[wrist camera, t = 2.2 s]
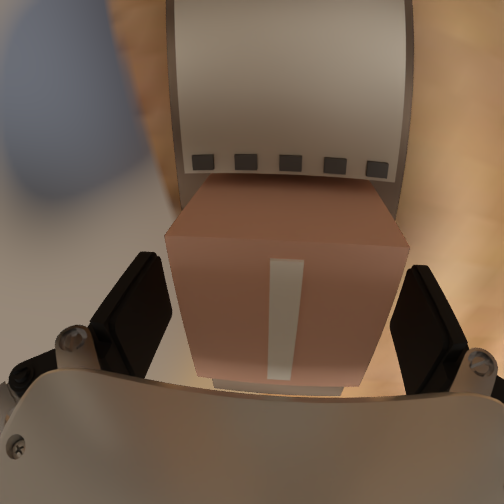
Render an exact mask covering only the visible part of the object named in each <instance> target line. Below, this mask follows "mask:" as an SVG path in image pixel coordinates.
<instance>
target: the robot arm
mask: <svg viewBox="0 0 504 504" xmlns="http://www.w3.org/2000/svg"><path fill="white" fill-rule="evenodd" d="M171 317H172V307H171V303H170V299H169V294H168V290H167V285H166V281H165V276H164V272H163V267H162V262H161V258H160V257H159V256H157V255H156V253H155V252H140V253H139V254H138V255H137V257H136V258H135V259H134V260H133V262H132V263H131V264H130V266H129V267H128V268H127V270H126V271H125V272H124V274H123V275H122V276H121V278H120V279H119V280H118V282H117V283H116V285H115V286H114V287H113V289H112V290H111V291H110V293H109V294H108V295H107V297H106V298H105V300H104V301H103V302H102V304H101V305H100V307H99V308H98V310H97V311H96V312H95V314H94V315H93V317H92V318H91V320H90V324H89V326H88V327H86V326H83V325H73V326H70V327H68V328H66V329H64V330H63V331H62V332H60V334H59V335H58V336H57V338H56V340H55V349H52V350H50V351H48V352H45V353H43V354H41V355H39V356H36V357H33V358H31V359H29V360H26V361H24V362H22V363H20V364H18V365H17V366H15V367H14V368H13V370H12V371H11V373H10V376H9V383H7V384H6V382H5V381H4V382H3V383H1V384H0V504H504V379H502V378H501V377H499V376H498V375H497V371H498V366H497V362H496V360H495V358H494V357H493V356H492V355H491V354H490V353H489V352H488V351H486V350H484V349H482V348H471V349H470V350H469V347H468V345H467V343H468V342H467V340H466V337H465V335H464V333H463V331H462V329H461V327H460V325H459V323H458V321H457V319H456V317H455V315H454V313H453V311H452V309H451V307H450V305H449V303H448V301H447V299H446V297H445V295H444V293H443V292H442V290H441V288H440V286H439V284H438V282H437V281H436V279H435V277H434V275H433V274H432V272H431V270H430V268H429V267H428V266H426V265H413V266H412V268H411V269H408V270H407V273H406V276H405V280H404V283H403V286H402V289H401V292H400V295H399V298H398V301H397V304H396V307H395V310H394V313H393V315H392V318H391V321H390V331H391V335H392V338H393V342H394V346H395V350H396V353H397V357H398V361H399V365H400V369H401V373H402V378H403V382H404V386H405V391H406V395H401V396H384V397H361V398H308V397H284V396H268V395H255V394H244V393H234V392H225V391H217V390H209V389H202V388H195V387H188V386H182V385H176V384H170V383H165V382H159V381H154V380H148V379H144V378H145V376H146V373H147V371H148V369H149V366H150V364H151V362H152V359H153V357H154V355H155V353H156V350H157V348H158V346H159V344H160V341H161V339H162V337H163V335H164V333H165V330H166V328H167V326H168V323H169V321H170V319H171Z"/></svg>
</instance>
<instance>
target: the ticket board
mask: <svg viewBox="0 0 504 504" xmlns="http://www.w3.org/2000/svg"><path fill="white" fill-rule="evenodd" d="M166 33H167V59H168V78H169V93H170V107H171V119H172V130H173V141H174V151H175V160H176V169H177V178H178V186H179V194H180V202H181V209H182V210H183V209H184V208H185V206H186V205H187V204H188V202H189V201H190V200H191V198H192V197H193V196H194V194H195V193H196V192H197V191H198V189H199V188H200V187H201V185H202V184H203V183H204V181H205V180H206V179H207V178H208V176H209V175H210V174H211V173H260V174H290V175H311V176H327V177H341V178H354V179H365V180H369V181H370V182H371V184H372V185H373V187H374V188H375V190H376V191H377V193H378V195H379V196H380V198H381V199H382V201H383V202H384V204H385V206H386V207H387V209H388V210H389V212H390V214H391V215H392V217H393V219H394V220H395V218H396V213H397V208H398V203H399V198H400V192H401V187H402V181H403V175H404V168H405V161H406V154H407V146H408V138H409V129H410V119H411V107H412V93H413V71H414V26H413V5H412V0H166ZM212 380H213V385H214V388H219V389H227V390H236V391H245V392H256V393H268V394H284V395H306V396H340V395H341V393H342V391H343V388H344V387H320V386H291V385H274V384H260V383H249V382H239V381H229V380H221V379H213V378H212Z"/></svg>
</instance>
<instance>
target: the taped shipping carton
mask: <svg viewBox="0 0 504 504" xmlns="http://www.w3.org/2000/svg"><path fill="white" fill-rule="evenodd" d="M164 237H165V242H166V247H167V253H168V258H169V262H170V267H171V272H172V277H173V281H174V286H175V290H176V295H177V299H178V303H179V308H180V312H181V316H182V320H183V324H184V328H185V332H186V336H187V339H188V344H189V347H190V351H191V355H192V359H193V362H194V366H195V369H196V373H197V376H198V377H206V378H213V379H221V380H229V381H239V382H249V383H260V384H274V385H291V386H320V387H355V386H359V385H360V383H361V381H362V379H363V376H364V374H365V372H366V370H367V368H368V365H369V363H370V361H371V358H372V356H373V354H374V351H375V349H376V346H377V344H378V342H379V339H380V337H381V334H382V331H383V329H384V326H385V324H386V321H387V318H388V316H389V313H390V310H391V307H392V304H393V302H394V299H395V296H396V293H397V290H398V287H399V284H400V280H401V277H402V274H403V271H404V268H405V264H406V261H407V257H408V254H409V250H410V246H409V245H408V243H407V241H406V239H405V237H404V236H403V234H402V232H401V230H400V229H399V227H398V225H397V224H396V222H395V220H394V219H393V217H392V215H391V214H390V212H389V210H388V209H387V207H386V206H385V204H384V202H383V201H382V199H381V198H380V196H379V195H378V193H377V191H376V190H375V188H374V187H373V185H372V184H371V182H370V181H369V180H365V179H354V178H341V177H327V176H311V175H290V174H260V173H211V174H210V175H209V176H208V178H207V179H206V180H205V181H204V183H203V184H202V185H201V187H200V188H199V189H198V191H197V192H196V193H195V194H194V196H193V197H192V198H191V200H190V201H189V202H188V204H187V205H186V206H185V208H184V209H183V210H182V212H181V213H180V215H179V216H178V217H177V219H176V220H175V221H174V223H173V224H172V225H171V227H170V228H169V230H168V231H167V232H166V234H165V235H164Z"/></svg>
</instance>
